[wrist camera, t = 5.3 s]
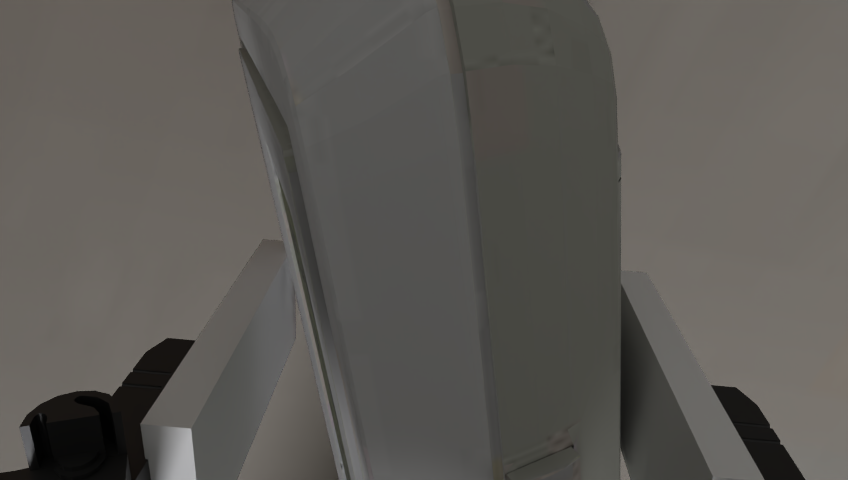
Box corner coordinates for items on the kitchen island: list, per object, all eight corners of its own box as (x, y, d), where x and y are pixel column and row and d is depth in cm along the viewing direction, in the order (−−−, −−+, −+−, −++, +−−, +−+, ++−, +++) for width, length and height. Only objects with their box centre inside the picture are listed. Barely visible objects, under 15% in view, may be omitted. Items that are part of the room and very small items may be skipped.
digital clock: (250, -84, 13) (-327, -157, 4) (693, -46, 13) (1361, -14, 3) (268, 501, 20) (90, 1023, 10) (560, 529, 20) (655, 1084, 10)
